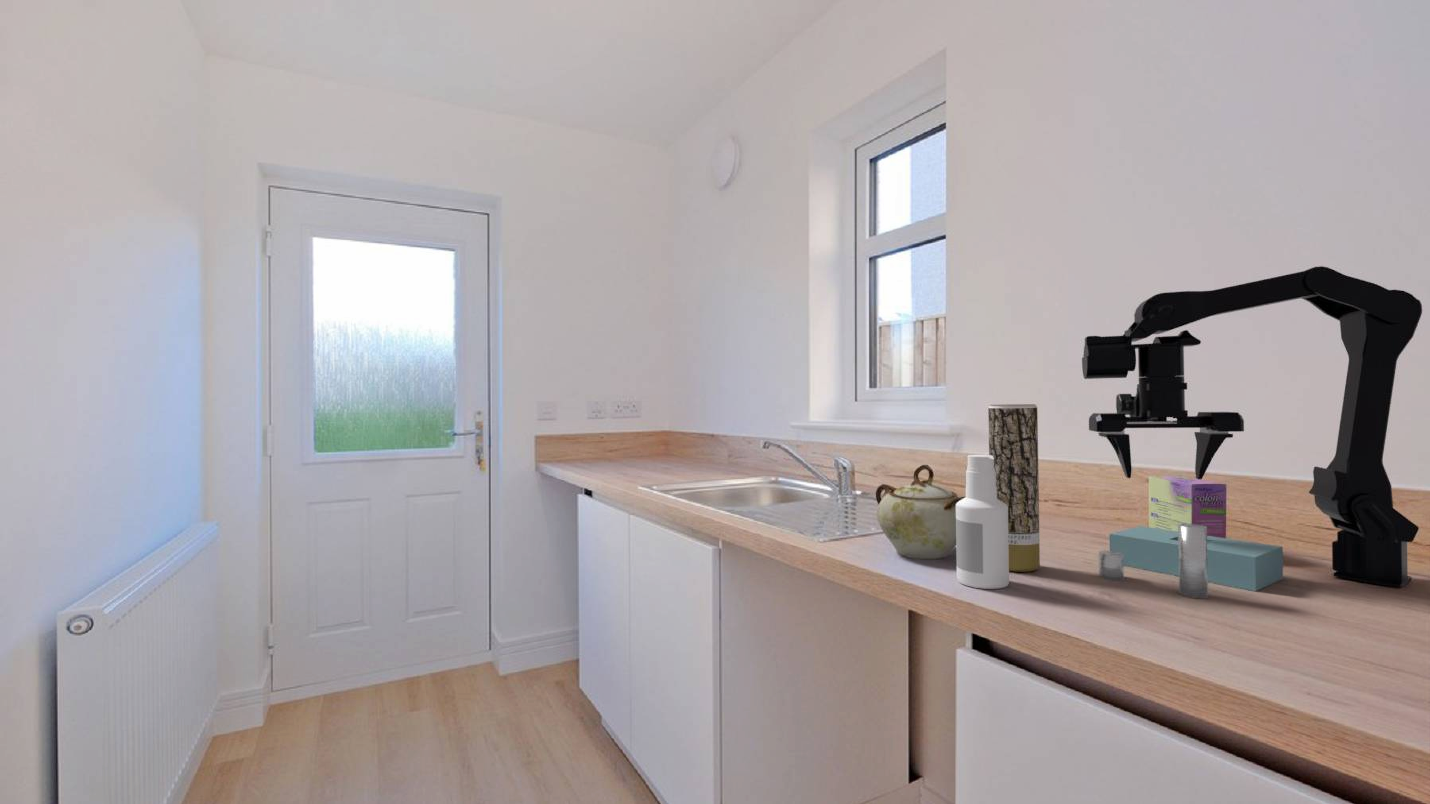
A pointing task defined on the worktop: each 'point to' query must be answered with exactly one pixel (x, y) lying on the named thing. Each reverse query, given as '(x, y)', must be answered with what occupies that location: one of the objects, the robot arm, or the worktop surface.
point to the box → (1187, 504)
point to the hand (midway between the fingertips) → (1163, 478)
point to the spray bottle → (982, 529)
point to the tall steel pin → (1193, 560)
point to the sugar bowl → (919, 517)
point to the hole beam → (1225, 557)
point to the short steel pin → (1111, 565)
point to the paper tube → (1017, 478)
